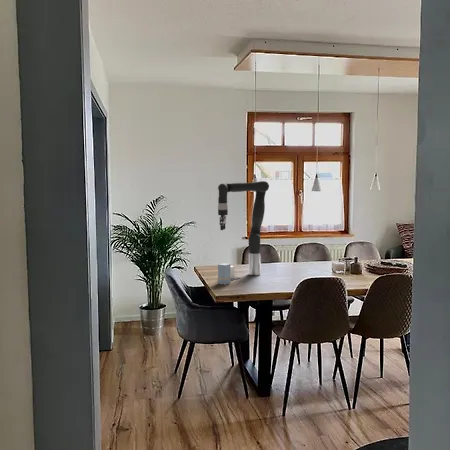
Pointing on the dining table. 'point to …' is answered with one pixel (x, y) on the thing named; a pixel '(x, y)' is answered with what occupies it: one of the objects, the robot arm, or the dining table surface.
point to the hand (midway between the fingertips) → (222, 229)
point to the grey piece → (224, 274)
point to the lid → (232, 271)
